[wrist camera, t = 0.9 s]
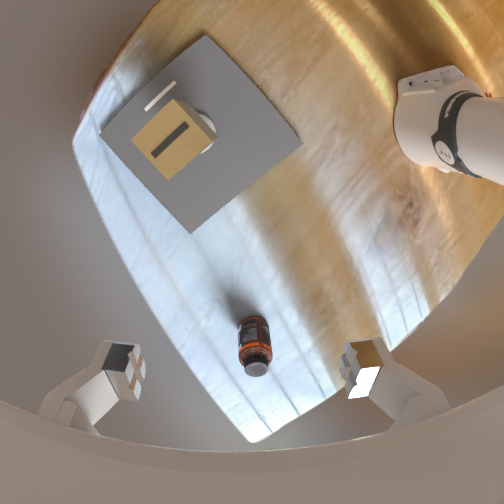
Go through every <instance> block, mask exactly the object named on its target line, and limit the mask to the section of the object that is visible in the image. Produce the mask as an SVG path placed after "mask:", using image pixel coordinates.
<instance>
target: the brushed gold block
mask: <svg viewBox="0 0 504 504" xmlns="http://www.w3.org/2000/svg"><path fill="white" fill-rule="evenodd" d="M218 138H219V137H218V136H217V134H216V133H215V132H214V131H213V130H212V129H211V128H210V127H209V125H208V124H207V123H206V122H205V121H204V120H203V119H202V118H201V117H200V116H199V114H198V113H197V112H196V111H195V110H194V109H193V108H192V107H191V106H190V105H189V104H187V103H184V102H181V101H178V100H175V99H172V100H171V101H170V102H169V103H168V104H167V105H166V106H165V107H163V108H162V109H161V110H160V111H159V112H158V113H157V114H156V115H155V116H154V117H153V118H152V119H151V120H150V121H149V122H148V123H147V124H146V125H145V126H144V127H143V128H142V129H141V130H140V131H139V132H138V133H137V134H136V135H135V136H134V137H133V138H132V139H131V141H132V142H133V143H134V144H135V145H136V146H137V147H138V148H139V150H140V151H141V152H142V153H143V154H144V155H145V156H146V157H147V158H148V159H149V160H150V162H151V163H152V164H153V165H154V166H155V167H156V168H157V169H158V170H159V171H160V172H161V174H162V175H163V176H164V177H165V178H166V179H167V180H168V181H169V180H170V179H171V178H172V177H173V176H175V175H176V174H177V173H178V172H179V171H181V170H182V169H183V168H184V167H185V166H187V165H188V164H189V163H190V162H191V161H192V160H193V159H194V158H195V157H197V156H198V155H199V154H200V153H201V152H202V151H203V150H205V149H206V148H207V147H208V146H209V145H210V144H212V143H213V142H214V141H215V140H216V139H218Z"/></svg>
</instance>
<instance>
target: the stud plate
mask: <svg viewBox="0 0 504 504" xmlns="http://www.w3.org/2000/svg"><path fill="white" fill-rule="evenodd" d="M172 99H175V100H178V101H181V102H184V103H187V104H189V105H190V106H191V107H192V108H193V109H194V110H195V111H196V112H197V113H198V114H199V116H200V117H201V118H202V119H203V120H204V121H205V122H206V123H207V124H208V125H209V127H210V128H211V129H212V130H213V131H214V132H215V133H216V134H217V136H218V137H219V138H218V139H216V140H215V141H214V142H213V143H212V144H210V145H209V146H208V147H207V148H206V149H205V150H203V151H202V152H201V153H200V154H199V155H198V156H197V157H195V158H194V159H193V160H192V161H191V162H190V163H189V164H188V165H187V166H185V167H184V168H183V169H182V170H181V171H179V172H178V173H177V174H176V175H175V176H173V177H172V178H171V179H170V180H169V181H168V180H167V179H166V178H165V177H164V176H163V175H162V174H161V172H160V171H159V170H158V169H157V168H156V167H155V166H154V165H153V164H152V163H151V162H150V160H149V159H148V158H147V157H146V156H145V155H144V154H143V153H142V152H141V151H140V150H139V148H138V147H137V146H136V145H135V144H134V143H133V142H132V141H131V139H132V138H133V137H134V136H135V135H136V134H137V133H138V132H139V131H140V130H141V129H142V128H143V127H144V126H145V125H146V124H147V123H148V122H149V121H150V120H151V119H152V118H153V117H154V116H155V115H156V114H157V113H158V112H159V111H160V110H161V109H162V108H163V107H165V106H166V105H167V104H168V103H169V102H170V101H171V100H172ZM99 136H100V137H101V138H102V139H103V140H104V142H105V143H106V144H107V145H108V146H109V147H110V148H111V149H112V151H113V152H114V153H115V154H116V155H117V156H118V157H119V158H120V159H121V161H122V162H123V163H124V164H125V165H126V166H127V167H128V168H129V169H130V170H131V172H132V173H133V174H134V175H135V176H136V177H137V178H138V179H139V180H140V181H141V182H142V183H143V185H144V186H145V187H146V188H147V189H148V190H149V191H150V192H151V193H152V194H153V195H154V196H155V197H156V199H157V200H158V201H159V202H160V203H161V204H162V205H163V206H164V207H165V208H166V209H167V210H168V211H169V212H170V213H171V214H172V215H173V217H174V218H175V219H176V220H177V221H178V222H179V223H180V224H181V225H182V226H183V227H184V228H185V229H186V230H187V231H188V232H189V233H190V234H191V233H192V232H194V231H195V230H196V229H197V228H198V227H199V226H201V225H202V224H203V223H204V222H205V221H206V220H208V219H209V218H210V217H211V216H212V215H214V214H215V213H216V212H217V211H218V210H220V209H221V208H222V207H223V206H225V205H226V204H227V203H228V202H229V201H231V200H232V199H233V198H234V197H236V196H237V195H238V194H239V193H241V192H242V191H243V190H244V189H246V188H247V187H248V186H249V185H251V184H252V183H253V182H254V181H256V180H257V179H258V178H259V177H261V176H262V175H263V174H265V173H266V172H267V171H268V170H270V169H271V168H272V167H274V166H275V165H276V164H277V163H279V162H280V161H281V160H283V159H284V158H285V157H287V156H288V155H289V154H291V153H292V152H293V151H295V150H296V149H297V148H299V147H300V146H301V145H303V143H302V141H301V140H300V139H299V137H298V136H297V135H296V134H295V132H294V131H293V130H292V129H291V127H290V126H289V125H288V123H287V122H286V121H285V120H284V119H283V117H282V116H281V115H280V114H279V112H278V111H277V110H276V109H275V108H274V106H273V105H272V104H271V103H270V102H269V101H268V99H267V98H266V97H265V96H264V95H263V94H262V92H261V91H260V90H259V89H258V88H257V87H256V86H255V84H254V83H253V82H252V81H251V80H250V79H249V78H248V77H247V76H246V75H245V73H244V72H243V71H242V70H241V69H240V68H239V67H238V66H237V65H236V64H235V63H234V62H233V61H232V60H231V59H230V58H229V57H228V56H227V54H226V53H225V52H224V51H223V50H222V49H221V48H220V47H219V46H218V45H217V44H216V43H215V42H214V41H212V40H211V39H210V38H209V37H208V36H207V35H204V36H203V37H202V38H200V39H199V40H198V41H196V42H195V43H194V44H193V45H191V46H190V47H189V48H187V49H186V50H185V51H184V52H182V53H181V54H180V55H179V56H178V57H176V58H175V59H174V60H173V61H172V62H170V63H169V64H168V65H167V66H166V67H165V68H164V69H162V70H161V71H160V72H159V73H158V74H157V75H156V76H155V77H154V78H153V79H151V80H150V81H149V82H148V83H147V84H146V85H145V86H144V87H143V88H142V89H141V90H140V91H139V92H138V93H137V94H136V95H135V96H134V97H133V98H132V99H131V100H130V101H129V102H128V103H127V104H126V105H125V106H124V107H123V108H122V109H121V110H120V112H119V113H118V114H117V115H116V116H115V117H114V118H113V119H112V120H111V122H110V123H109V124H108V125H107V126H106V127H105V128H104V130H103V131H102V132H101V133H100V134H99Z"/></svg>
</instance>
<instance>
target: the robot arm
mask: <svg viewBox="0 0 504 504" xmlns="http://www.w3.org/2000/svg"><path fill="white" fill-rule="evenodd" d="M409 82H410V83H411V86H410V85H409ZM485 94H486V97H484V96H483V94H482V92H481V90H480V88H479V87H478V85H477V84H476V82H475V81H474V80H473V79H471V78H470V77H468V76H464V74H463V73H462V72H461V71H460V70H459V69H458V68H457V67H456V66H454V65H448V66H444V67H440V68H436V69H433V70H429V71H425V72H422V73H419V74H415V75H412V76H409V77H406V78H402V79H400V80H399V81H398V96H399V97H398V102H397V105H396V109H395V114H394V129H395V134H396V138H397V141H398V143H399V145H400V147H401V149H402V151H403V152H404V153H405V155H406V156H407V157H408V158H409V159H410V160H411V161H413V162H414V163H416V164H418V165H421V166H425V167H435V168H437V169H438V170H440V171H442V172H445V173H448V172H450V171H454V172H459V173H464V174H467V175H468V176H471V177H476V178H483V177H484V178H486V179H489V180H491V181H494V182H496V183H498V184H501V185H503V186H504V97H492V96H491V93H489V95H490V97H489V95H488V94H487V93H485ZM344 351H345V353H344V354H343V355H342V356H341V358H340V363H339V369H340V374H341V377H342V378H343V379H344V380H346V383H345V389H346V392H347V394H348V397H349V398H354V397H361V396H367V395H368V397H369V398H370V399H371V400H372V401H373V402H374V403H375V404H377V405H378V406H379V407H380V408H381V409H382V410H383V411H385V412H386V413H387V414H388V415H389V416H390V417H391V418H392V419H394V420H395V423H394V424H393V425H392V427H391V428H390V429H389V431H387V432H383V433H379V434H375V435H371V436H367V437H362V438H357V439H353V440H347V441H342V442H337V443H331V444H324V445H318V446H310V447H301V448H292V449H282V450H264V451H205V450H188V449H178V448H168V447H160V446H153V445H145V444H139V443H133V442H128V441H123V440H118V439H113V438H108V437H104V436H100V434H99V433H98V432H97V430H96V429H95V428H94V427H93V425H94V424H95V423H96V422H97V421H98V420H99V419H100V418H101V417H102V416H103V415H104V414H105V413H106V412H107V411H108V410H109V409H110V408H111V407H112V406H113V405H114V404H115V403H116V402H117V401H118V400H119V399H125V400H133V401H138V399H139V395H140V392H141V386H140V383H141V382H142V381H143V380H144V378H145V371H146V366H145V361H144V358H142V357H141V356H140V352H141V349H140V346H139V345H138V344H134V343H126V342H118V341H108V340H104V341H102V343H101V345H100V347H99V349H98V351H97V353H96V355H95V357H94V359H93V361H92V363H91V366H90V367H86V368H85V369H83V370H81V371H80V372H79V373H77V374H76V375H74V376H73V377H71V378H70V379H68V380H67V381H65V382H64V383H62V384H61V385H59V386H58V387H56V388H55V389H53V390H52V391H50V392H49V393H47V395H46V397H45V399H44V401H43V403H42V406H41V408H40V410H39V412H38V414H37V416H36V415H33V414H31V413H28V412H26V411H24V410H21V409H19V408H17V407H14V406H12V405H10V404H8V403H6V402H4V401H2V400H0V504H504V385H502V386H500V387H498V388H496V389H494V390H493V391H491V392H489V393H487V394H485V395H483V396H481V397H479V398H476V399H474V400H472V401H470V402H468V403H466V404H463V405H461V406H459V407H456V408H454V409H451V408H450V406H449V404H448V402H447V400H446V398H445V397H444V395H443V393H442V391H441V389H440V388H438V387H437V386H435V385H433V384H432V383H430V382H428V381H426V380H425V379H424V378H422V377H420V376H418V375H417V374H415V373H414V372H412V371H411V370H409V369H407V368H406V367H404V366H402V365H401V364H396V363H395V361H394V359H393V357H392V355H391V354H390V352H389V350H388V348H387V346H386V345H385V343H384V341H383V339H382V338H380V337H378V338H371V339H363V340H355V341H347V342H346V343H345V345H344Z"/></svg>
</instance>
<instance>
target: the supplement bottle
mask: <svg viewBox="0 0 504 504" xmlns="http://www.w3.org/2000/svg"><path fill="white" fill-rule="evenodd" d="M238 340H239V361H240V363H241V364H242V365H243V366H244V368H245V373H246V374H247V375H249V376H252V377H260V376H262V375H265V374H266V373H267V372H268V365H269V364H270V363H271V361H272V347H271V339H270V332H269V326H268V323H267V322H266V321H265V320H264V319H262V318H260V317H248V318H246V319H244V320H243V321H242V322H241V323H240V325H239V330H238Z"/></svg>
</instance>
